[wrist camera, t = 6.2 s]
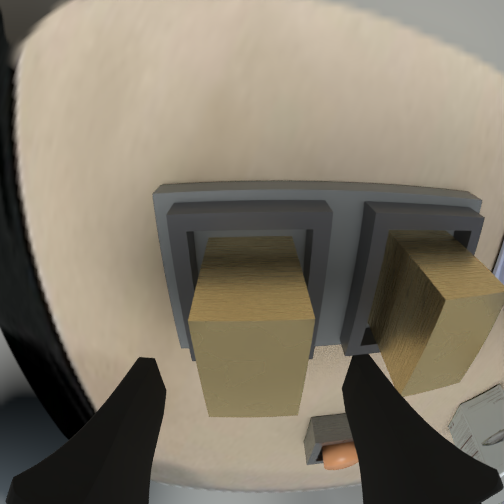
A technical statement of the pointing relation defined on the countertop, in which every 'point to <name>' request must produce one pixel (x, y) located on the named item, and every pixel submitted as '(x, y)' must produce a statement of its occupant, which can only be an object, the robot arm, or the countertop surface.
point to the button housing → (325, 435)
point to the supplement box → (481, 428)
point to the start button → (339, 456)
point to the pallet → (307, 240)
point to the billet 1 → (251, 327)
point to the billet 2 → (431, 309)
